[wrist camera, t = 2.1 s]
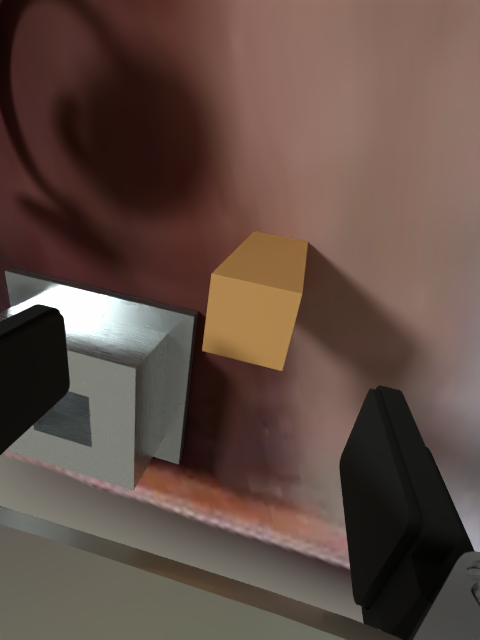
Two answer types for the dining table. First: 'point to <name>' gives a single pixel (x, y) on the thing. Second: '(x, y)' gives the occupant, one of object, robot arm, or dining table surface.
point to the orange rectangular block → (256, 300)
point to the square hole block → (111, 379)
